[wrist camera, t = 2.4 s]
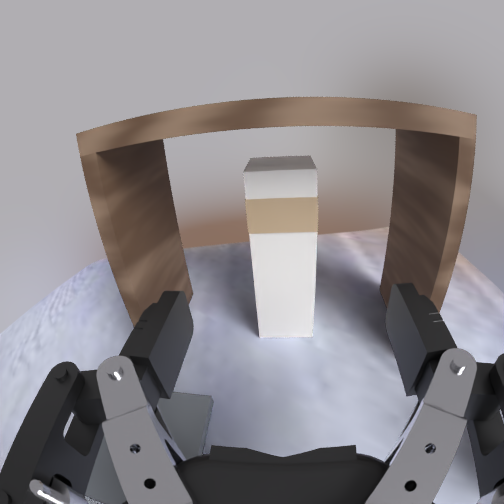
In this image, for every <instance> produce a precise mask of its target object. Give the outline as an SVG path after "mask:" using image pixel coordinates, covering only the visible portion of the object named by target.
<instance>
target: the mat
mask: <svg viewBox="0 0 504 504" xmlns="http://www.w3.org/2000/svg"><path fill="white" fill-rule="evenodd" d="M157 406H158V407H159V409H160V411H161V414H162V416H163V418H164V420H165V422H166V424H167V426H168V428H169V430H170V432H171V434H172V436H173V438H174V440H175V442H176V444H177V446H178V448H179V449H180V451H181V452H182V454H183V455H184V457H185V459H186V460H187V459H189V458H192V457H195V456H198V455H202V452H203V447H204V443H205V438H206V433H207V429H208V424H209V420H210V415H211V411H212V406H213V399H212V396H207V395H196V394H187V393H179V392H173V393H172V396H171V399H164V398H160V399H159V401H158V404H157ZM85 496H87V497H90V498H92V499H94V500H96V501H99V502H101V503H104V504H122V503H123V502H125V501H126V500H127V499H126V497H125V494H124V492H123V489H122V486H121V484H120V481H119V478H118V476H117V473H116V470H115V467H114V464H113V461H112V458H111V455H110V452H109V449H108V445H107V442H106V439H105V435H104V437H103V440H102V443H101V446H100V449H99V452H98V455H97V458H96V461H95V464H94V467H93V470H92V473H91V477H90V480H89V483H88V486H87V490H86V493H85Z"/></svg>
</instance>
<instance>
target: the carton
mask: <svg viewBox="0 0 504 504" xmlns="http://www.w3.org/2000/svg"><path fill="white" fill-rule="evenodd" d="M243 173H244V185H245V195H246V199H245V205H246V215H247V224H248V233H249V236H250V246H251V257H252V267H253V277H254V287H255V297H256V307H257V317H258V328H259V338H300V337H312V336H313V321H314V305H315V284H316V257H317V232H318V196H317V169H316V166H315V164H314V162H313V160H312V158H311V156H285V157H284V156H283V157H262V158H251V159H250V160H249V162H248V164H247V166H246V168H245V170H244V172H243Z"/></svg>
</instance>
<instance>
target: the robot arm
mask: <svg viewBox="0 0 504 504" xmlns="http://www.w3.org/2000/svg"><path fill="white" fill-rule="evenodd" d="M385 324H386V330H387V333H388V336H389V339H390V342H391V345H392V349H393V352H394V355H395V358H396V361H397V364H398V368H399V371H400V375H401V378H402V381H403V385H404V388H405V392H406V396H412V395H417V397H418V402H417V404H416V406H415V408H414V410H413V412H412V414H411V416H410V417H409V419H408V421H407V423H406V425H405V427H404V429H403V431H402V432H401V434H400V436H399V438H398V440H397V441H396V443H395V445H394V446H393V448H392V449H391V451H390V452H389V454H388V455H387V457H386V458H385V460H384V461H381V460H379V459H377V458H375V457H372V456H369V455H364V454H359V453H356V445H351V446H341V447H329V448H319V449H315V450H312V451H308V452H304V453H300V454H296V455H292V456H287V457H278V456H274V455H270V454H266V453H262V452H258V451H255V450H251V449H247V448H236V447H224V446H214V445H212V446H211V451H210V453H209V454H203V455H198V456H195V457H192V458H189V459H187V460H186V459H185V457H184V455H183V454H182V452H181V451H180V449H179V448H178V446H177V444H176V442H175V440H174V438H173V436H172V434H171V432H170V430H169V428H168V426H167V424H166V422H165V420H164V418H163V416H162V414H161V411H160V409H159V407H158V406H157V404H158V401H159V399H160V398H164V399H171V396H172V393H173V390H174V387H175V384H176V381H177V378H178V375H179V372H180V369H181V366H182V364H183V361H184V358H185V355H186V352H187V349H188V346H189V344H190V341H191V338H192V335H193V319H192V316H191V312H190V309H189V305H188V302H187V298H186V295H185V293H184V291H164V292H163V293H162V295H161V297H160V299H159V300H158V302H157V303H152V304H151V305H150V306H149V307H148V308H146V309H145V310H144V311H143V313H142V315H141V316H140V318H139V322H137V323H136V325H135V327H134V329H133V331H132V332H131V334H130V336H129V338H128V339H127V341H126V343H125V345H124V347H123V349H122V350H121V352H120V354H119V356H114V357H110V358H108V359H107V360H105V361H104V362H103V363H102V364H101V365H100V366H99V368H98V370H89V371H79V369H78V368H77V366H76V365H75V364H74V363H72V362H62V363H59V364H57V365H56V366H55V367H53V368H52V370H51V371H50V372H49V374H48V376H47V378H46V379H45V381H44V383H43V385H42V386H41V388H40V390H39V392H38V394H37V396H36V397H35V399H34V401H33V403H32V405H31V407H30V409H29V411H28V413H27V415H26V417H25V419H24V421H23V423H22V425H21V427H20V429H19V431H18V433H17V435H16V438H15V440H14V442H13V444H12V446H11V449H10V451H9V453H8V456H7V458H6V460H5V463H4V465H3V468H2V470H1V473H0V504H88V503H87V500H86V499H85V497H84V496H85V493H86V490H87V486H88V483H89V480H90V477H91V473H92V470H93V467H94V464H95V461H96V458H97V455H98V452H99V449H100V446H101V443H102V440H103V437H104V435H105V439H106V442H107V445H108V449H109V452H110V455H111V458H112V461H113V464H114V467H115V470H116V473H117V476H118V478H119V481H120V484H121V486H122V489H123V492H124V494H125V497H126V499H127V500H126V501H125V502H123V503H122V504H435V503H433V500H434V498H435V496H436V494H437V492H438V490H439V488H440V487H441V484H442V482H443V480H444V478H445V476H446V474H447V472H448V470H449V467H450V465H451V463H452V461H453V458H454V456H455V453H456V451H457V448H458V446H459V443H460V441H461V438H462V435H463V432H464V430H465V427H466V425H467V429H468V433H469V437H470V442H471V446H472V451H473V456H474V461H475V466H476V472H477V478H478V485H479V492H480V499H479V500H478V502H477V503H476V504H504V424H503V421H502V417H501V414H500V409H501V411H502V414H503V417H504V354H502V355H500V356H499V357H498V359H497V360H496V362H495V364H491V363H479V362H476V361H475V359H474V357H473V356H472V355H471V354H470V353H469V352H467V351H465V350H463V349H459V348H457V346H456V344H455V342H454V340H453V338H452V336H451V334H450V332H449V330H448V328H447V326H446V325H445V323H444V321H443V319H442V317H441V315H440V314H439V313H438V310H437V308H436V306H435V305H434V303H433V302H432V301H431V300H430V299H429V298H427V297H426V296H425V295H419V294H418V292H417V290H416V288H415V286H414V285H413V284H412V283H401V284H393V286H392V288H391V293H390V298H389V303H388V308H387V312H386V318H385ZM71 412H72V413H73V414H74V417H73V419H72V422H71V424H70V426H69V429H68V431H67V433H66V436H65V438H64V436H63V431H64V428H65V426H66V423H67V421H68V419H69V416H70V414H71Z"/></svg>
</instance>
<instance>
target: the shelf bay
mask: <svg viewBox="0 0 504 504" xmlns="http://www.w3.org/2000/svg"><path fill="white" fill-rule="evenodd" d="M476 119H477V115H475V114H471V113H466V112H461V111H456V110H451V109H446V108H440V107H434V106H429V105H422V104H415V103H407V102H398V101H390V100H378V99H365V98H346V97H285V98H266V99H252V100H241V101H230V102H221V103H214V104H205V105H199V106H192V107H186V108H180V109H174V110H169V111H163V112H158V113H154V114H150V115H144V116H140V117H135V118H132V119H127V120H123V121H119V122H115V123H112V124H108V125H104V126H100V127H97V128H93V129H90V130H87V131H84V132H80V133H77V134H76V136H77V142H78V147H79V153H80V158H81V162H82V167H83V171H84V176H85V180H86V185H87V189H88V193H89V197H90V201H91V205H92V208H93V212H94V216H95V219H96V223H97V226H98V229H99V233H100V236H101V239H102V242H103V245H104V249H105V252H106V255H107V258H108V261H109V264H110V266H111V269H112V272H113V275H114V278H115V280H116V283H117V286H118V288H119V291H120V294H121V296H122V299H123V301H124V304H125V306H126V309H127V311H128V314H129V316H130V318H131V321H132V323H133V326H134V327H135V325H136V323H137V322H139V318H140V316H141V315H142V313H143V311H144V310H145V309H146V308H148V307H149V306H150V305H151V304H152V303H157V302H158V300H159V299H160V297H161V295H162V293H163V292H164V291H184V293H185V295H186V298H187V302H188V305H189V302H190V300H191V298H192V295H193V291H192V286H191V282H190V278H189V274H188V269H187V265H186V261H185V256H184V251H183V247H182V242H181V237H180V233H179V228H178V223H177V218H176V213H175V207H174V202H173V197H172V192H171V186H170V180H169V175H168V168H167V162H166V156H165V150H164V143H163V139H166V138H172V137H178V136H185V135H192V134H200V133H208V132H217V131H227V130H238V129H250V128H265V127H286V126H356V127H377V128H391V129H396V146H395V147H396V148H395V170H394V185H393V197H392V208H391V218H390V226H389V234H388V242H387V249H386V255H385V262H384V268H383V274H382V279H381V285H380V292H381V295H382V297H383V300H384V302H385V305H386V307H387V308H388V303H389V298H390V293H391V288H392V286H393V284H401V283H412V284H413V285H414V286H415V288H416V290H417V292H418V294H419V295H425V296H426V297H427V298H429V299H430V300H431V301H432V302H433V303H434V305H435V306H436V308H437V310H438V313H439V312H440V310H441V307H442V304H443V301H444V298H445V295H446V292H447V289H448V286H449V283H450V279H451V276H452V273H453V269H454V266H455V262H456V258H457V254H458V250H459V246H460V242H461V237H462V233H463V229H464V224H465V219H466V214H467V209H468V202H469V197H470V190H471V183H472V175H473V166H474V156H475V143H476Z"/></svg>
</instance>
